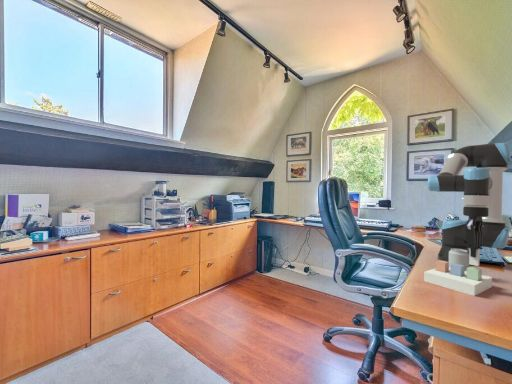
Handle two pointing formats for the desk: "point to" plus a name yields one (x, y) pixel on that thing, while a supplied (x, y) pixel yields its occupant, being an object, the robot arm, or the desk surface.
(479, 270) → the sage button
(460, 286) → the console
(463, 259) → the can
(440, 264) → the terracotta button
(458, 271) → the slate button
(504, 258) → the desk surface
